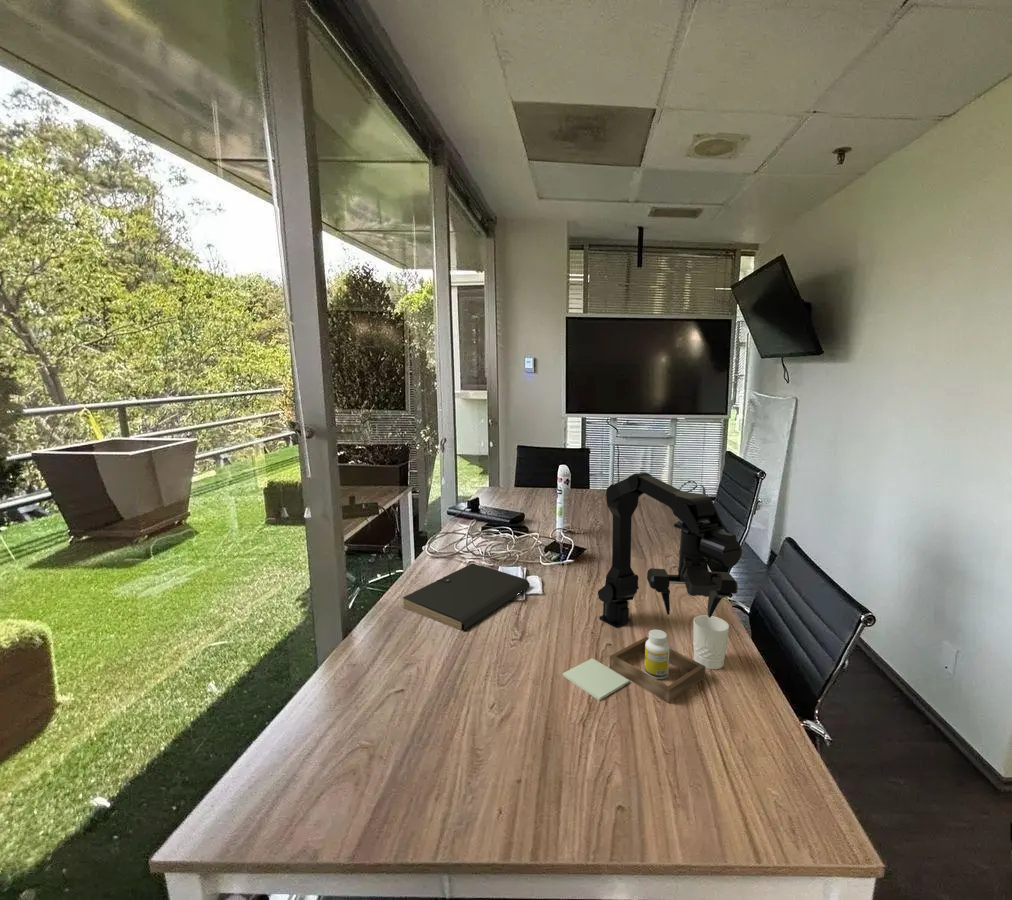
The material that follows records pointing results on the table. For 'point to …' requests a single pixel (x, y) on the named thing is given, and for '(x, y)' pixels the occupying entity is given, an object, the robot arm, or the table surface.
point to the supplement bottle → (657, 655)
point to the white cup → (710, 641)
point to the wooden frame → (651, 684)
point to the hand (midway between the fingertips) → (688, 615)
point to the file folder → (465, 595)
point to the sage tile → (595, 678)
